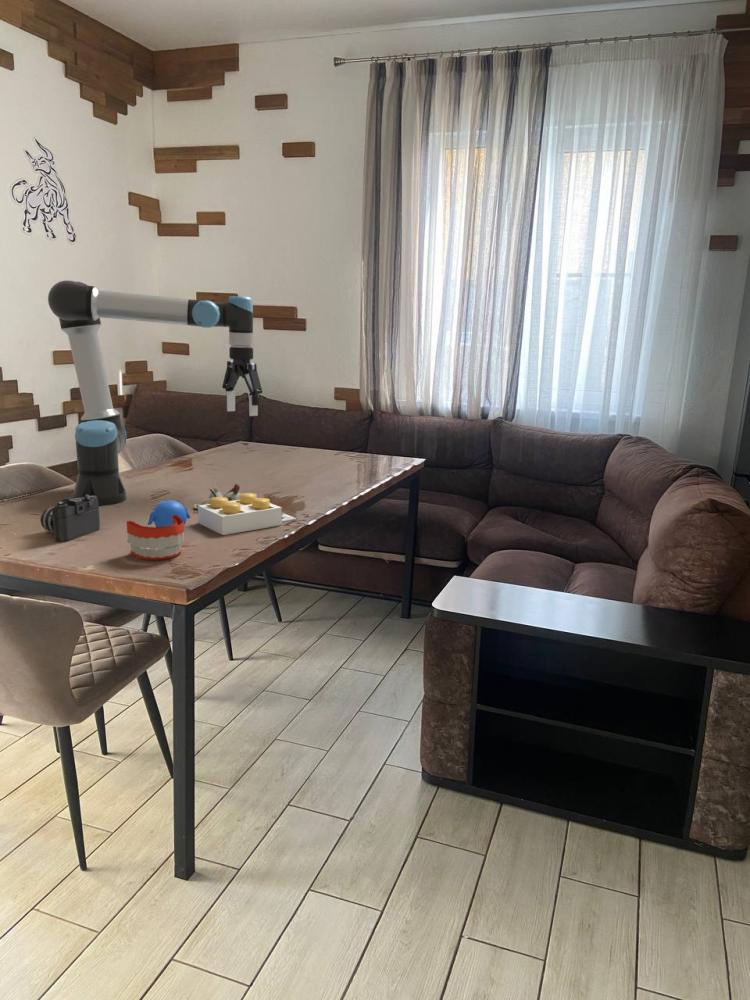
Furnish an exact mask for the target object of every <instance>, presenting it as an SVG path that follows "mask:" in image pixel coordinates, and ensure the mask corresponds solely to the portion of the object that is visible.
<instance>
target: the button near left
mask: <svg viewBox="0 0 750 1000" xmlns="http://www.w3.org/2000/svg"><path fill="white" fill-rule="evenodd" d="M222 513H224V514H226V515H231V514H238V513H241V504H240V503H237V502H226V503H223V504H222Z"/></svg>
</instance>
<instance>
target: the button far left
mask: <svg viewBox="0 0 750 1000" xmlns="http://www.w3.org/2000/svg"><path fill="white" fill-rule="evenodd" d="M226 502H228V498H226V497H213V498H210V500H209V503H210V508H213V509H221V508H222V504H223V503H226Z"/></svg>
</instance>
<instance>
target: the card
mask: <svg viewBox="0 0 750 1000" xmlns="http://www.w3.org/2000/svg"><path fill="white" fill-rule="evenodd" d="M296 520H297V517H294V516H292V515H289V514H287V513H284V512H282V523H285V522H293V521H296Z"/></svg>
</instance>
